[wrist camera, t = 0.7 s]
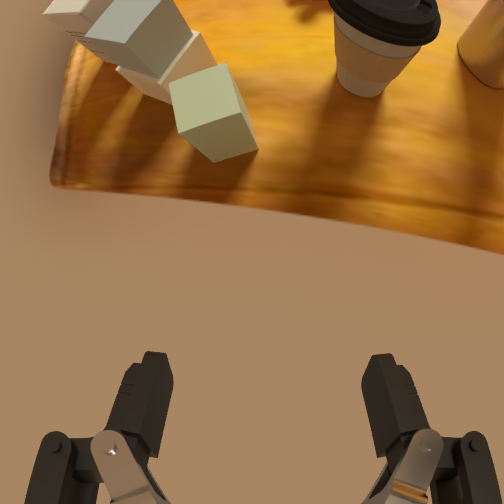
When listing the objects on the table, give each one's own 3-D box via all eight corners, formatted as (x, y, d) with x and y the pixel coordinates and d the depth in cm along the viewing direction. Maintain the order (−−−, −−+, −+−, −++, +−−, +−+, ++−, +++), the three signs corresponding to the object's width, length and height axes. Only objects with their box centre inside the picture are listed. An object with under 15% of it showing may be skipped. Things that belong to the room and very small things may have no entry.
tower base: (173, 51, 31) (151, 22, 24) (217, 64, 30) (200, 32, 23) (143, 94, 32) (115, 70, 25) (185, 110, 31) (160, 84, 24)
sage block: (204, 123, 31) (168, 83, 21) (246, 109, 30) (226, 62, 20) (213, 163, 31) (178, 133, 21) (258, 149, 30) (241, 112, 20)
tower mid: (152, 26, 24) (123, -10, 17) (193, 34, 23) (168, -7, 16) (120, 67, 25) (84, 36, 18) (159, 79, 24) (124, 43, 17)
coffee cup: (403, 116, 27) (461, 46, 12) (321, 107, 29) (334, 19, 14) (393, 51, 27) (428, -29, 12) (318, 42, 28) (322, -49, 13)
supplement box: (135, 17, 32) (86, -38, 17) (179, 23, 31) (133, -46, 16) (101, 62, 33) (39, 15, 18) (142, 72, 32) (77, 12, 17)
